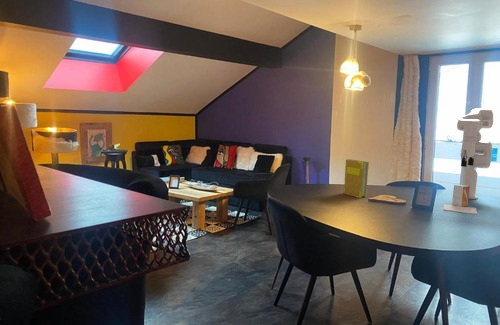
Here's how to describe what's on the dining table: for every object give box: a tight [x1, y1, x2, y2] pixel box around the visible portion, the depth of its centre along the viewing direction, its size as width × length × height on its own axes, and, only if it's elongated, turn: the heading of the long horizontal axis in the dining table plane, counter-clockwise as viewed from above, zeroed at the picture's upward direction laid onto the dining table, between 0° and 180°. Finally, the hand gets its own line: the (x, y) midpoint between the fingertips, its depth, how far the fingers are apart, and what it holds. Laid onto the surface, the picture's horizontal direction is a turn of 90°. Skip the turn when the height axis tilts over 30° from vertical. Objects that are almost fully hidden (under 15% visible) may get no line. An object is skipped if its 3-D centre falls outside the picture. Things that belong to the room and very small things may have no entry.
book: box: [343, 158, 370, 199], centre depth 274 cm, size 17×7×25 cm, turn 34°
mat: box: [443, 203, 478, 215], centre depth 240 cm, size 16×18×1 cm
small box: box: [451, 184, 470, 207], centre depth 250 cm, size 8×6×13 cm
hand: (467, 165), depth 248 cm, fingers open, 9 cm apart
